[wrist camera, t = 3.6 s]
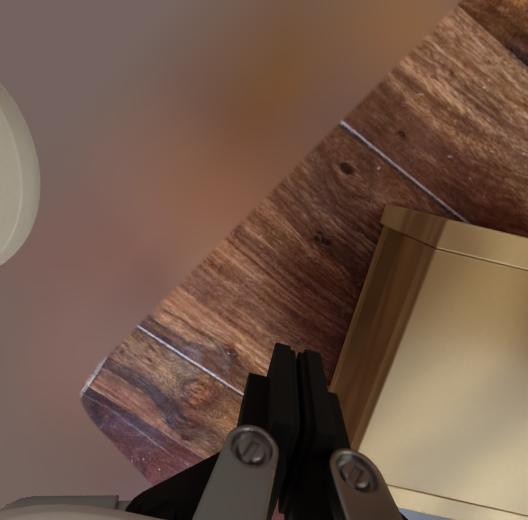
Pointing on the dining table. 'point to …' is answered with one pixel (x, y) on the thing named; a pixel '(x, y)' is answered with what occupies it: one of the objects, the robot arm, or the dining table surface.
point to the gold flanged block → (442, 367)
